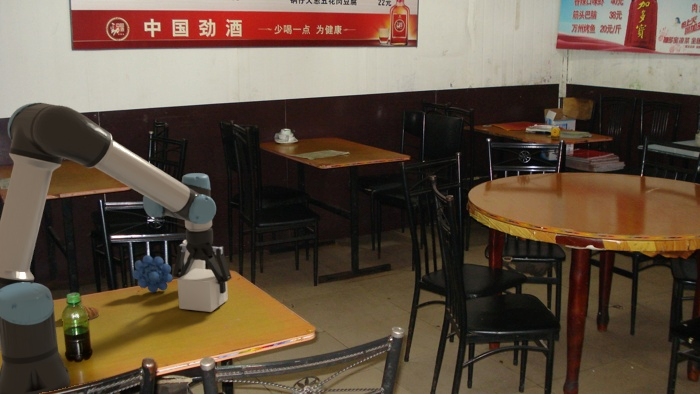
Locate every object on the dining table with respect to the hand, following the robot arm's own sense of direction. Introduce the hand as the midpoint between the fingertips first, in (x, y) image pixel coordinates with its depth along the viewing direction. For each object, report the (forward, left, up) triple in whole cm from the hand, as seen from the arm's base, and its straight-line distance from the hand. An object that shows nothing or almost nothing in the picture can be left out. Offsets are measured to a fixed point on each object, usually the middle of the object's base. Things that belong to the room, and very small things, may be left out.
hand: (203, 301), depth 218 cm
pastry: (-18, +29, -2) cm, 35 cm away
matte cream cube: (0, 0, -1) cm, 1 cm away
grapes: (+6, +20, -1) cm, 21 cm away
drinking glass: (+14, +10, -1) cm, 17 cm away
